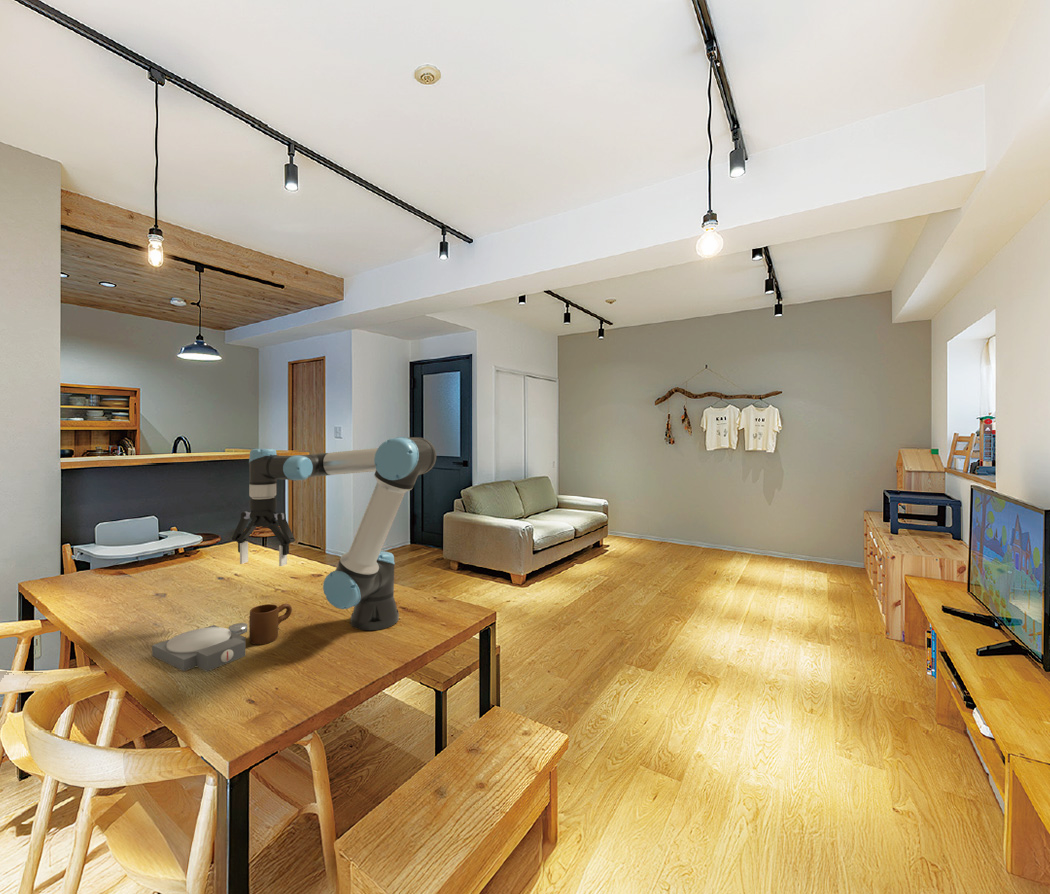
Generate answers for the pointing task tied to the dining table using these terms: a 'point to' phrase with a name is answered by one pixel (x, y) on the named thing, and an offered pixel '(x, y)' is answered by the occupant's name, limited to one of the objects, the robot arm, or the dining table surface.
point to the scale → (201, 648)
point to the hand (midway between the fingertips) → (263, 564)
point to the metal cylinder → (238, 628)
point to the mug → (266, 622)
